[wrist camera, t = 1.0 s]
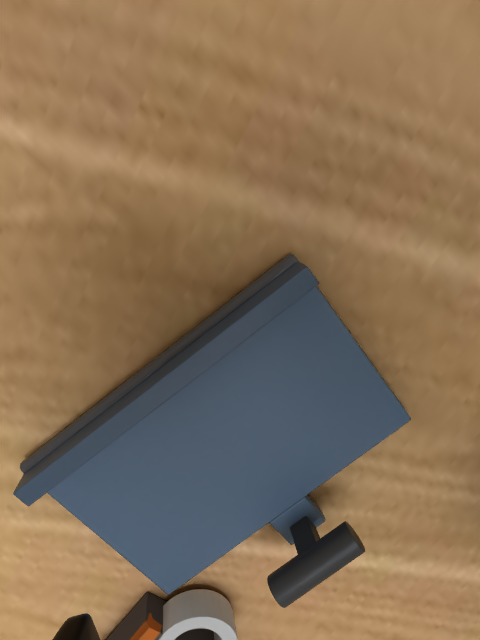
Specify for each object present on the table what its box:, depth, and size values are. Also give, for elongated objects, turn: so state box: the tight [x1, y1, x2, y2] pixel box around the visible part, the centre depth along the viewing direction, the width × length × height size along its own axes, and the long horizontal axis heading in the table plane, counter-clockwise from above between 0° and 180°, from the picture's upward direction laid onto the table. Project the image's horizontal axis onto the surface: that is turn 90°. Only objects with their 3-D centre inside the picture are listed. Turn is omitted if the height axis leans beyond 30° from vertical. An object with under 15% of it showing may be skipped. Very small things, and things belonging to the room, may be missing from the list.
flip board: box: [13, 253, 411, 608], centre depth 21 cm, size 14×17×4 cm
